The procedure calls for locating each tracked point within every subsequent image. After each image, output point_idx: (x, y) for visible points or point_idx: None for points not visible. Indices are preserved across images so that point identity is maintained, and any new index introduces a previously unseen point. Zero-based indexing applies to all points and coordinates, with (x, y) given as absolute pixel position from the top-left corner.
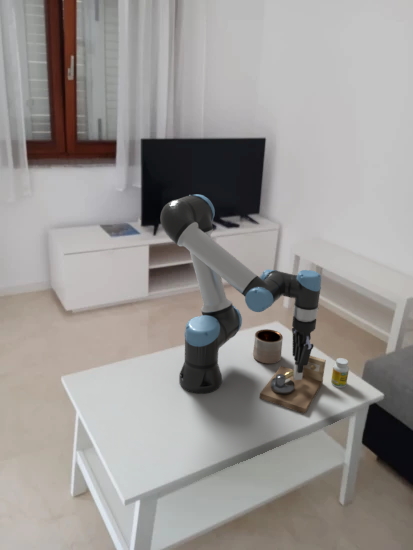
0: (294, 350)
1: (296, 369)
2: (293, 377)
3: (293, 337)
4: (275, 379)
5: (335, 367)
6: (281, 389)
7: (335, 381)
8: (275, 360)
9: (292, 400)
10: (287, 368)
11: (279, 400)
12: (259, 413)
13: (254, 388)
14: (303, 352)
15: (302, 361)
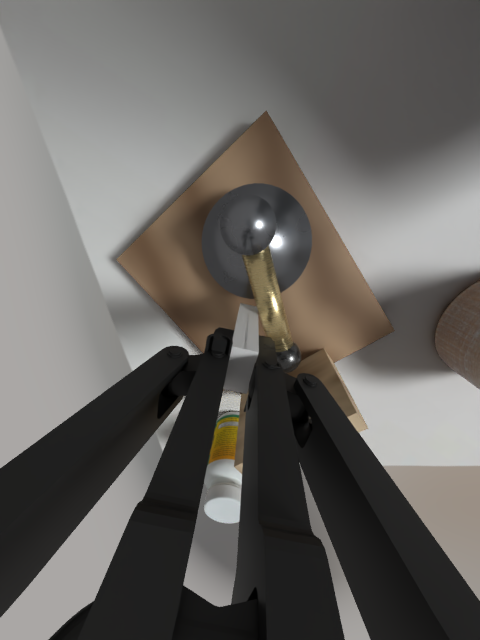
0: (312, 414)
1: (234, 330)
2: (254, 307)
3: (437, 587)
4: (298, 230)
5: (230, 469)
6: (216, 213)
7: (224, 424)
8: (443, 333)
9: (172, 240)
10: (363, 342)
11: (191, 186)
12: (165, 53)
13: (339, 138)
14: (23, 465)
15: (135, 376)
